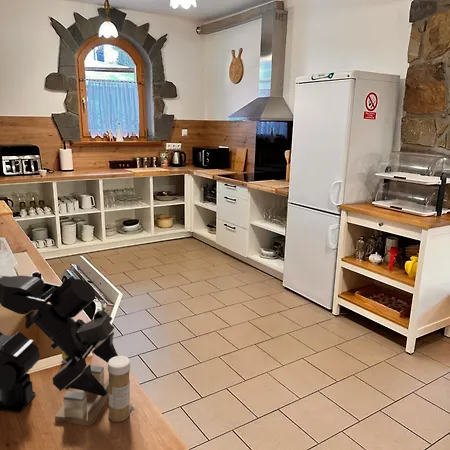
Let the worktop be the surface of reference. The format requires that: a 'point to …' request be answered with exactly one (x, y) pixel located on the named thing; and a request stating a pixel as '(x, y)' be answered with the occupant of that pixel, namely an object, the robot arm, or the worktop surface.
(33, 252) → the worktop surface
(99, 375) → the walnut spice rack
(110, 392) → the sprinkles bottle
